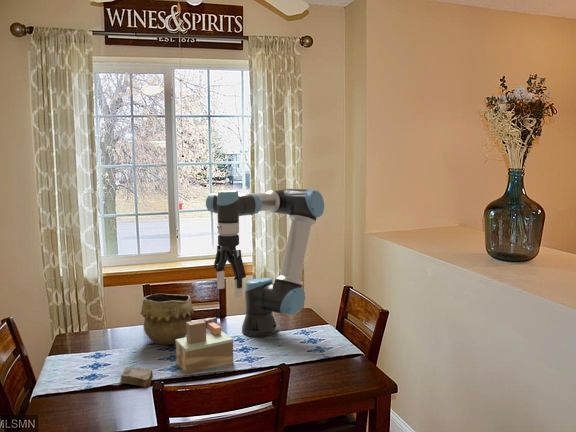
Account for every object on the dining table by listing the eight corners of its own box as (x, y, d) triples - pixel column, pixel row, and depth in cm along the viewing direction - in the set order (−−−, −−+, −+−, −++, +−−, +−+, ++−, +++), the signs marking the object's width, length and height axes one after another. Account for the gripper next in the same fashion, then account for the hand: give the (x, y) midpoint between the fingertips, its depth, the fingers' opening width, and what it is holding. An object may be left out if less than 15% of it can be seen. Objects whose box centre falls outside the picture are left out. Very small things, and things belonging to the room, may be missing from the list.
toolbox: (176, 362, 182) (175, 342, 181) (221, 352, 191) (220, 332, 190) (186, 373, 173) (185, 351, 172) (233, 362, 182) (233, 341, 181)
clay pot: (161, 331, 215) (159, 286, 213) (204, 336, 208) (202, 290, 206) (130, 348, 196) (128, 299, 194) (177, 355, 189) (175, 304, 187)
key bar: (202, 326, 194) (202, 319, 194) (210, 325, 196) (209, 317, 195) (214, 336, 184) (214, 327, 184) (222, 334, 186) (222, 326, 185)
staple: (202, 351, 192) (201, 319, 191) (216, 348, 195) (215, 317, 194) (204, 353, 191) (203, 320, 189) (217, 350, 194) (216, 318, 192)
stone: (111, 381, 168) (111, 372, 168) (128, 371, 176) (128, 363, 175) (147, 388, 162) (146, 379, 162) (162, 378, 170) (162, 370, 169)
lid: (175, 342, 181) (174, 320, 180) (220, 332, 190) (220, 312, 189) (185, 351, 172) (185, 329, 171) (233, 341, 181) (232, 320, 180)
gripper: (203, 231, 183) (205, 286, 186) (235, 239, 163) (236, 302, 165) (222, 229, 188) (223, 284, 190) (255, 237, 167) (256, 298, 169)
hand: (229, 292), depth 178 cm, fingers open, 13 cm apart
